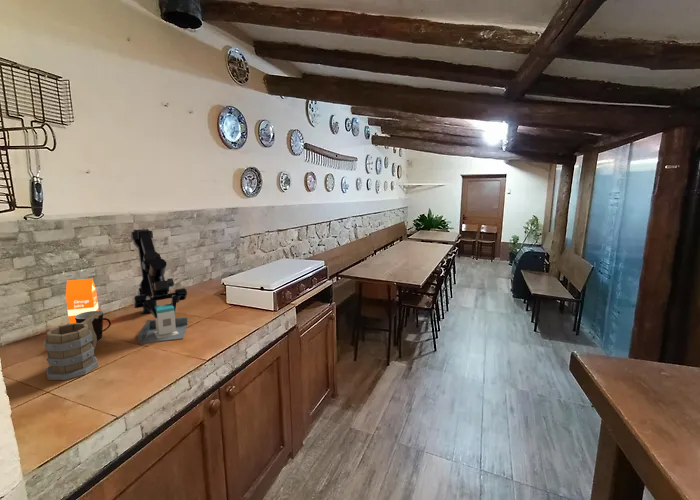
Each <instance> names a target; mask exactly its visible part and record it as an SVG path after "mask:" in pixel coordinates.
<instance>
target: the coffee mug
mask: <svg viewBox="0 0 700 500" xmlns="http://www.w3.org/2000/svg"><path fill="white" fill-rule="evenodd" d="M91 313H96V314H99V317H98V319H94V320H93V321H92V325H93V330H94V332H95V334H96V336H97V342H98V341H101V340H102V339H103V332H105V331H107V330H108V329H109V328H110V327H111V325H112V322H111V320H110V319H109V318H107V317H104V311H101V310H99V311H89V312H84V313H81V314H78V315H76V316H75V320H76V323H81V322H84V321H85V320H86V319H87V317H88V316H89V315H90V314H91ZM104 320H105V321H108V326H106V327H105V328H104V329H103V327H104V326H103V323H104ZM100 339H101V340H100Z"/></svg>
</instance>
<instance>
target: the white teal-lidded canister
mask: <svg viewBox="0 0 700 500" xmlns="http://www.w3.org/2000/svg"><path fill="white" fill-rule="evenodd" d="M154 308H155V311H156V313H157V318H155V317H154V318H155V319H154V320H155V322H156V331H157V332H158V334H159V335H162V334H166V333H171V332H175V331H176V324H175V318H176V315H175V314H176V309H175V310H174V307H173V306H172V304H171V303H165V304H160V305H157V306H154Z"/></svg>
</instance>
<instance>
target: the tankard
mask: <svg viewBox="0 0 700 500" xmlns="http://www.w3.org/2000/svg"><path fill="white" fill-rule="evenodd" d="M98 317H99V314H96V313H91V314H90V315H89V316H88V317H87V319H86V320H85V321H84V322H81V323H71V324H69V323H66V324H61V325H58V326H55V327H53V328H51V329H49V330H47V331H46V332H45V334H46V338H44V345H43V346H44V347H45V349H46V352H48V353H46V362H47V364H48V367H46V369H45V370H46V371H45V372H46V377H47V380H48V381H50V380H51V381H67V380H71V379H74V378H78V377H82V376H85V375H88V374H89V372H91V371H93V370H95V369H96V368H97V367H98V366H99V361H98V359H97V357H96V356H95V350H96V345H97V342H98V341H97V336H96V334H95V332H94V330H93V325H92V321H93V320H94V319H98Z"/></svg>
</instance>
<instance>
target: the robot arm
mask: <svg viewBox="0 0 700 500" xmlns="http://www.w3.org/2000/svg"><path fill="white" fill-rule="evenodd" d="M130 239H131V240H132V242H133V245H134V246H135V247H136V248H137V249H138V258H139V263H140V264H139V265H140V272H141V278H142V279H141V282H140V283H139V288H138V291H137V295H135V296H134V297H133V307H134V309H139V308H142V311H141V312H140V313H141V314H152V315H153V317H154V318H157V313H156V311H155V308H154V306H158V303H157V301H162V300H168V299H171V302H170V304H172V306H173V307H174V310H175V311H176V310H177V309H176V308H177V303H180V301H185V300H186V298H187V295H188V291H187V289H186V288H185V287H183V288H177V289H176V288H175V290H174V292H171V293H169V292H170V288H171V287H173V286H175V282H174V279H173V277H172V278H167V279H165V274H166V269H167V261H166V260H165V259H163V258H162V257H161V254H160V253H158V252H157V251H156V249H155V246H154V242H153V239H154V233H153V230H149V229H148V228H143V229H133V231H131V232H130Z"/></svg>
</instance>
